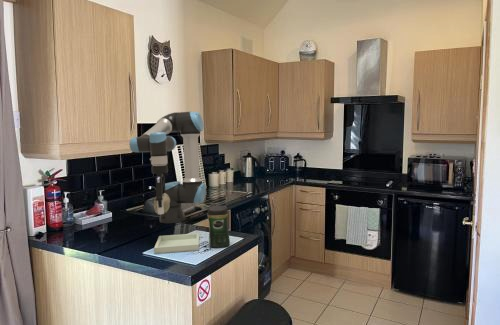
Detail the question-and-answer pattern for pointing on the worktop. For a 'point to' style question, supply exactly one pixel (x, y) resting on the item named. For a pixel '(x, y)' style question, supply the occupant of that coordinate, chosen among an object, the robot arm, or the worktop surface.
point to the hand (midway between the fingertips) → (162, 211)
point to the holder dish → (177, 243)
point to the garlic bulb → (165, 203)
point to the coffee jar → (218, 226)
